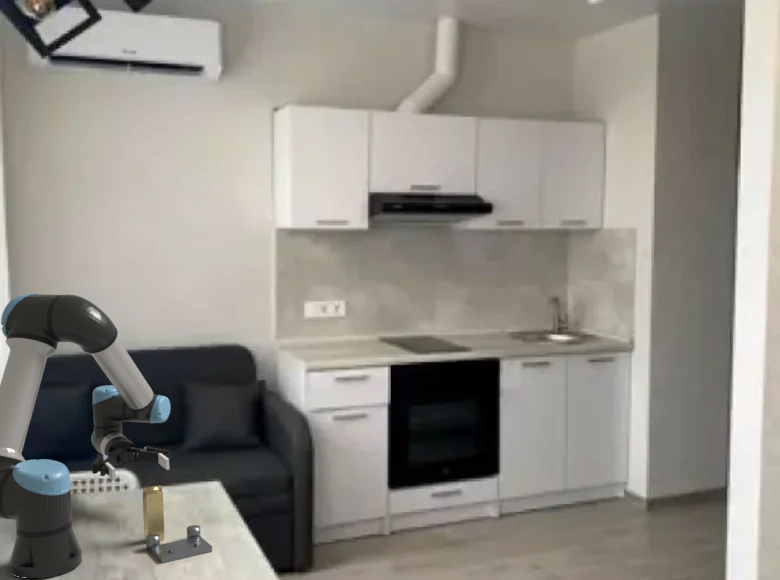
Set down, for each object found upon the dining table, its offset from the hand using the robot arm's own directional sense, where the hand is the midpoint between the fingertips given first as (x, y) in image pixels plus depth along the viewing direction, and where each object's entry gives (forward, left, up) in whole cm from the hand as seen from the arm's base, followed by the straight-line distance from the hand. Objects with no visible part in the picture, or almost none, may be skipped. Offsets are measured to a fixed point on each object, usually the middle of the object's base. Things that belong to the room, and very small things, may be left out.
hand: (141, 469), depth 214 cm
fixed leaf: (+3, -19, -15) cm, 25 cm away
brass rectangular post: (0, -10, -15) cm, 18 cm away
